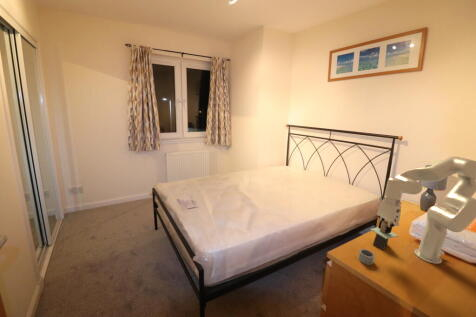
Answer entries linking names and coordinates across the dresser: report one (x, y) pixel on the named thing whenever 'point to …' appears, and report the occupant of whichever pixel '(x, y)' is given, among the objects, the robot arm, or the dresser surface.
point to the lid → (383, 231)
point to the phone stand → (380, 242)
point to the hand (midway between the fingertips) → (384, 230)
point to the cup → (366, 256)
